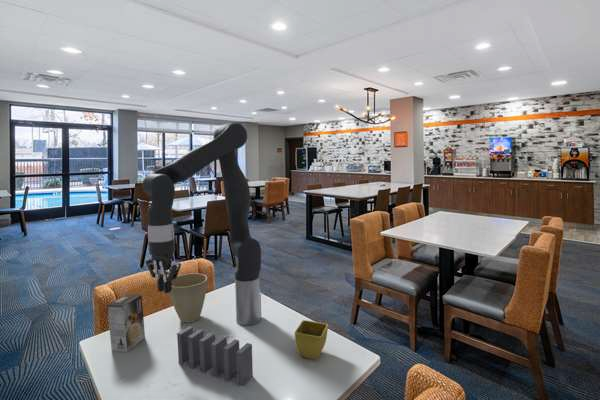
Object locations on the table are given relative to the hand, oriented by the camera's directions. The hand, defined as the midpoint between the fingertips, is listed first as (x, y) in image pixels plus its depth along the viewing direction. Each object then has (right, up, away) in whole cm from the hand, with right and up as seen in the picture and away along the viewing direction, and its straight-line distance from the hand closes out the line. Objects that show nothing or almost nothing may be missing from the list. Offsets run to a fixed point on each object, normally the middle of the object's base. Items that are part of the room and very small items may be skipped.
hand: (164, 291), depth 106 cm
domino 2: (+11, -21, -3) cm, 24 cm away
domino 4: (+19, -22, -7) cm, 30 cm away
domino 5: (+23, -22, -9) cm, 33 cm away
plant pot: (-1, -18, +27) cm, 32 cm away
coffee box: (-16, -21, +9) cm, 27 cm away
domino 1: (+7, -21, -1) cm, 23 cm away
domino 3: (+15, -22, -5) cm, 27 cm away
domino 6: (+27, -22, -11) cm, 37 cm away
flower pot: (+47, -21, +1) cm, 51 cm away
